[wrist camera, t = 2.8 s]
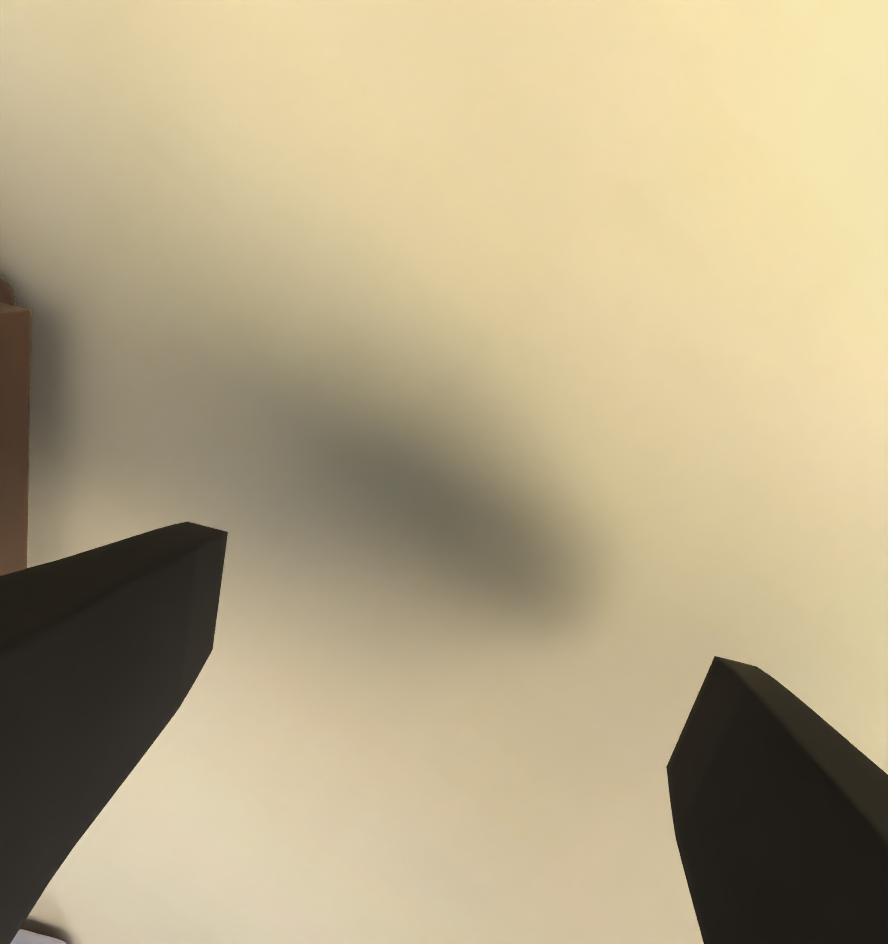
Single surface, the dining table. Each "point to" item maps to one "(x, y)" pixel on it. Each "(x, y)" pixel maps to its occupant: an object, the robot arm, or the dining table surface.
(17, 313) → the chair
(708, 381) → the dining table surface
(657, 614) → the dining table surface
